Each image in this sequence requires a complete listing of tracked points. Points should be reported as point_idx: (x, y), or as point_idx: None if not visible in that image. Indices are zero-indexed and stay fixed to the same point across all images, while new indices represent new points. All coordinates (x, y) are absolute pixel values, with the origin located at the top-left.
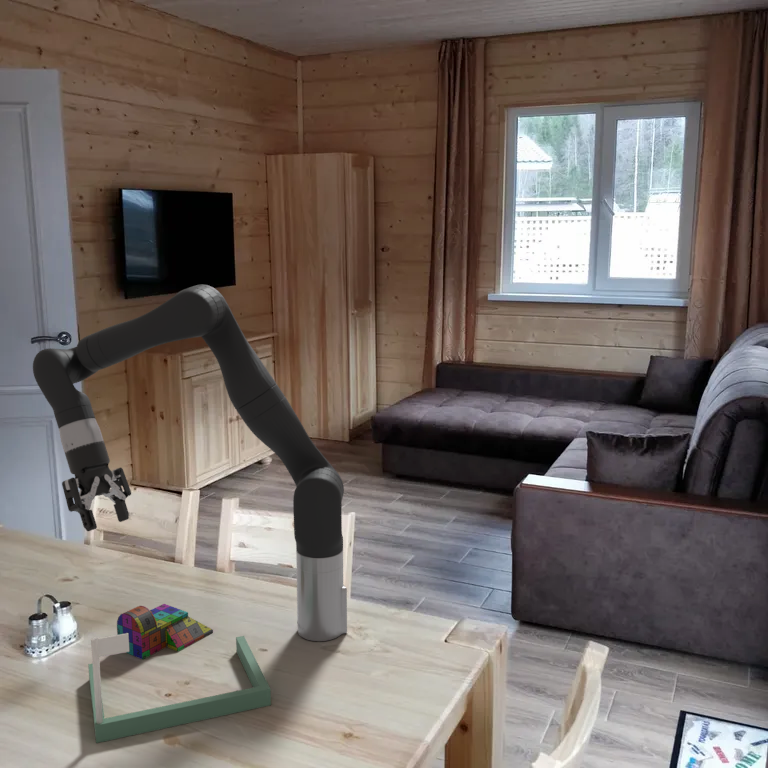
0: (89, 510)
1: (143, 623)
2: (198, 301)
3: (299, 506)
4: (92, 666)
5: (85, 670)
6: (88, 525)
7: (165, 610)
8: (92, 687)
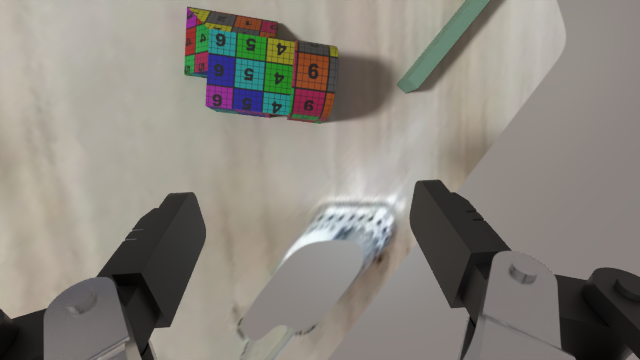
0: (491, 249)
1: (325, 46)
2: None
3: None
4: (419, 76)
5: (389, 119)
6: (463, 202)
7: (228, 80)
8: (463, 28)
